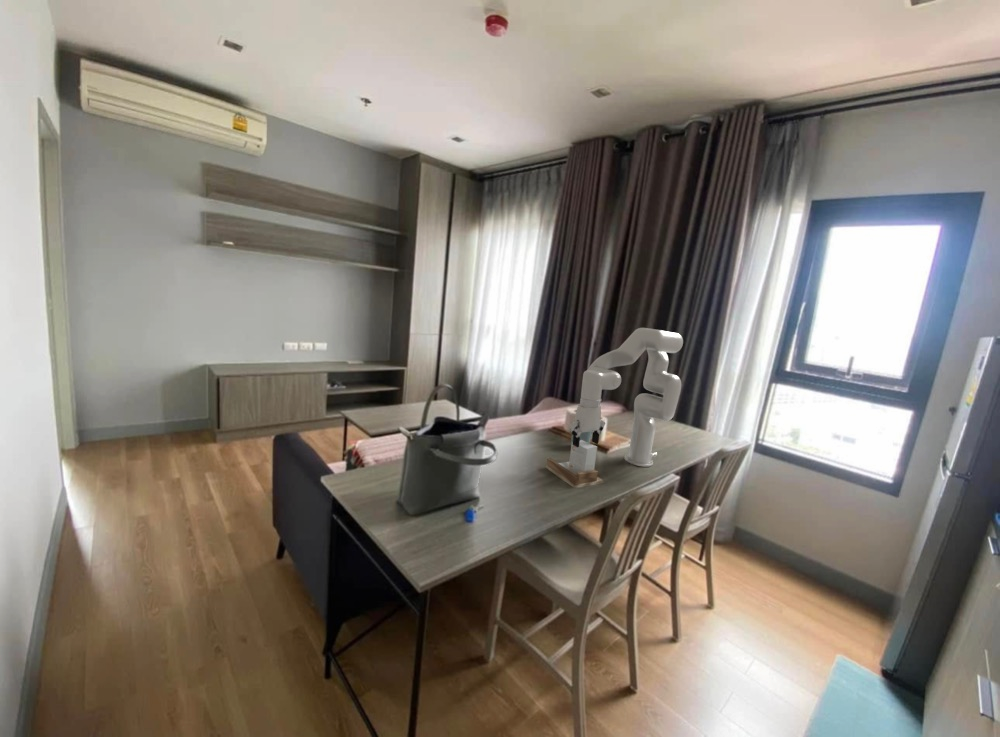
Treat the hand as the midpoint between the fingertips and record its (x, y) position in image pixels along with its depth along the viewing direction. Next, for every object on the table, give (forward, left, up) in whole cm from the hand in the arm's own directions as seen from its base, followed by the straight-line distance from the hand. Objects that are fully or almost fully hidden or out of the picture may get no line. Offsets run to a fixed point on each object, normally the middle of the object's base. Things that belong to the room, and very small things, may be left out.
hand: (585, 444), depth 162 cm
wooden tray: (+1, -3, -14) cm, 15 cm away
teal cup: (-22, -27, -14) cm, 38 cm away
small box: (0, 0, -13) cm, 13 cm away
